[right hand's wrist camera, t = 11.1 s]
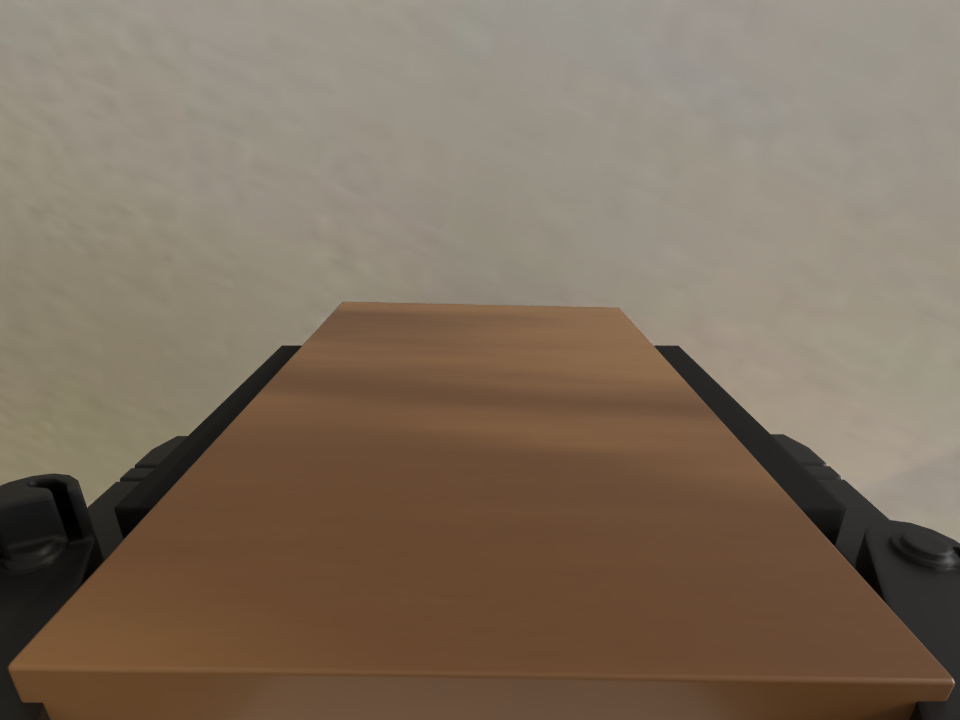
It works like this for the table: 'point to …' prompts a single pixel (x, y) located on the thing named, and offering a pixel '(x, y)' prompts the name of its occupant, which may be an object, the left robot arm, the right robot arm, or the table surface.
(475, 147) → the table surface
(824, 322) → the table surface
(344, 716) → the box
